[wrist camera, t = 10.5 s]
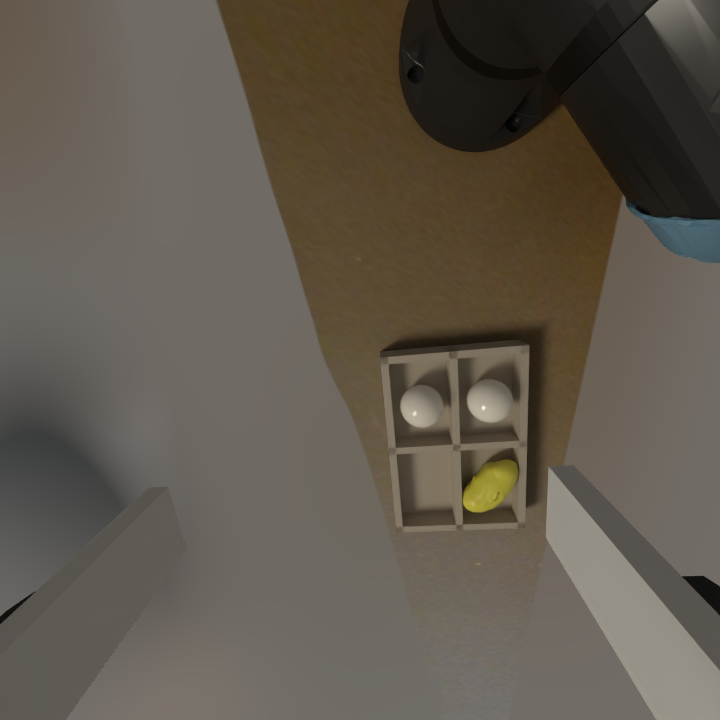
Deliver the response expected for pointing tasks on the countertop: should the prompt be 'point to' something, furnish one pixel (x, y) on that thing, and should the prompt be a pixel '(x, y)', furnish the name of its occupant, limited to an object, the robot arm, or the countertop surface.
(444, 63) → the robot arm
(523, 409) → the divided tray
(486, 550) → the countertop surface
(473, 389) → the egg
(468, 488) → the yellow oval piece
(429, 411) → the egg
